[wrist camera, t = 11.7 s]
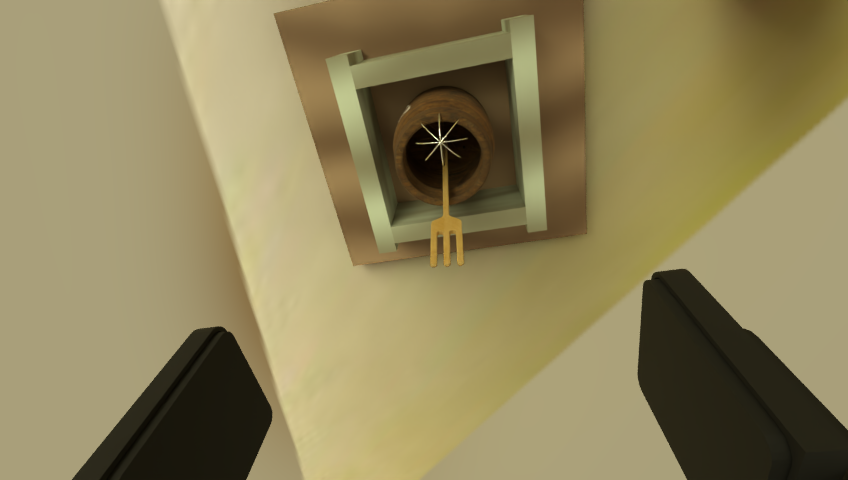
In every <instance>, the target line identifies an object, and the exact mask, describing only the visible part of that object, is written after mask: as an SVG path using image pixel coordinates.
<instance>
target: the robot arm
mask: <svg viewBox="0 0 848 480" xmlns="http://www.w3.org/2000/svg"><path fill="white" fill-rule="evenodd" d="M640 328H641V329H640V343H639V344H640V345H639V359H638V361H639V362H638V380H639V385H640V387H641V390H642V392H643V394H644V396H645V398H646V400H647V402H648V404H649V406H650V408H651V410H652V412H653V413H654V416H655V418H656V420H657V422H658V424H659V425H660V427H661V429H662V431H663V433H664V435H665V437H666V439H667V441H668V443H669V445H670V447H671V449H672V451H673V452H674V454H675V457H676V459H677V461H678V463H679V464H680V466H681V468H682V470H683V472H684V474H685V476H686V478H687V480H848V430H847V429H846V428H845V427H844V426H843V425H842V424H841V423H840V422H839V421H838V420H837V419H836V418H835V416H834V415H833V414H832V413H831V412H830V411H829V410H828V409H827V408H826V407H825V406H824V405H823V404H822V403H821V402H820V401H819V400H818V399H817V398H816V397H815V396H814V395H813V394H812V393H811V392H810V390H809V389H808V388H807V387H806V386H805V385H804V384H803V383H802V382H801V381H800V380H799V379H798V378H797V377H796V376H795V375H794V374H793V373H792V372H791V371H790V370H789V369H788V368H787V367H786V366H785V364H784V363H783V362H782V361H781V360H780V359H779V358H778V357H777V356H776V355H775V354H774V353H773V352H772V351H771V350H770V349H769V348H768V347H767V346H766V345H765V344H764V343H763V342H762V341H761V340H760V339H759V337H757V336H756V335H755V334H754V333H752V332H751V331H749V330H746V329H743V328H742V327H741V326H740V325H739V324H738V323H737V322H736V321H735V320H734V319H733V318H732V317H731V315H730V314H729V313H728V312H727V311H726V310H725V309H724V308H723V307H722V306H721V305H720V304H719V303H718V302H717V301H716V299H715V298H714V297H713V296H712V295H711V294H710V293H709V292H708V291H707V290H706V289H705V288H704V287H703V286H702V285H701V283H700V282H699V281H698V280H697V279H696V278H695V277H694V276H693V275H692V274H691V273H690V272H689V271H688V270H686V269H677V270H669V271H661V272H655V273H653V275H652V278H651V280H646V281H645V282H644V284H643V296H642V311H641V327H640ZM271 421H272V409H271V406H270V404H269V403H268V401H267V399H266V397H265V395H264V393H263V391H262V389H261V387H260V385H259V383H258V381H257V379H256V378H255V376H254V374H253V372H252V370H251V368H250V366H249V364H248V362H247V360H246V359H245V357H244V355H243V353H242V351H241V349H240V347H239V345H238V343H237V341H236V339H235V337H234V336H233V334H232V333H230V332H227V331H226V329H225V328H223V327H210V328H202V329H197V330H195V331H193V332H192V334H190V336H189V337H188V338H187V339H186V340H185V342H184V343H183V344H182V345H181V347H180V348H179V349H178V350H177V352H176V353H175V354H174V355H173V356H172V358H171V359H170V360H169V361H168V363H167V364H166V365H165V366H164V368H163V369H162V370H161V371H160V372H159V374H158V375H157V376H156V377H155V378H154V380H153V381H152V382H151V383H150V385H149V386H148V387H147V388H146V389H145V391H144V392H143V393H142V395H141V396H140V397H139V398H138V399H137V401H136V402H135V403H134V404H133V405H132V407H131V408H130V409H129V410H128V412H127V413H126V414H125V415H124V417H123V418H122V419H121V420H120V421H119V423H118V424H117V425H116V426H115V427H114V429H113V430H112V431H111V432H110V434H109V435H108V436H107V437H106V439H105V440H104V441H103V442H102V444H101V445H100V446H99V447H98V448H97V449H96V451H95V452H94V453H93V454H92V456H91V457H90V458H89V459H88V461H87V462H86V463H85V464H84V465H83V467H82V468H81V469H80V470H79V472H78V473H77V474H76V475H75V477H74V478H73V479H72V480H246V479H247V477H248V474H249V472H250V470H251V467H252V465H253V463H254V461H255V458H256V456H257V454H258V452H259V449H260V447H261V445H262V443H263V440H264V438H265V436H266V433H267V431H268V429H269V427H270V424H271Z"/></svg>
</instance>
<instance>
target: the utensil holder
mask: <svg viewBox="0 0 848 480" xmlns="http://www.w3.org/2000/svg"><path fill="white" fill-rule="evenodd" d="M494 149H495V140H494V133H493V129H492V126H491V123H490V120H489V118H488V115H487V113H486V111H485V109H484V108H483V106H482V105H481V103H480V102H479V101H478V100H477V99H476V98H475V97H474V96H473V95H471V94H470V93H468V92H467V91H465V90H463V89H460V88H457V87H452V86H438V87H433V88H430V89H428V90H425V91H423V92H422V93H420V94H419V95H417V96H416V97H415V98H414V99H413V100H412V101H411V102H410V103H409V104H408V106H407V107H406V109H405V110H404V112H403V114H402V116H401V118H400V120H399V122H398V124H397V127H396V130H395V134H394V140H393V152H394V160H395V167H396V171H397V174H398V177H399V179H400V181H401V183H402V184H403V186H404V187H405V188H406V190H407V191H408V192H409V193H410V194H412V195H413V196H414V197H415V198H417V199H419V200H421V201H423V202H425V203H428V204H431V205H437V206H443V216H442V217H440V218H438V219H436V220H434V221H432V223H431V250H430V266H431V267H436V266H437V236H438V235H443V247H444V266H446V267H448V266H450V265H451V261H450V235H451V234H456V245H457V264H458V265H459V266H462V265H463V264H464V252H463V235H462V221H461V220H460V219H458V218H455V217H451V216H450V215H449V205H455V204H458V203H461V202H463V201H465V200H467V199H469V198H470V197H472V196H473V195H474V194H475V193H477V192H478V191H479V189H480V188H481V187H482V186H483V184H484V183H485V181H486V179H487V177H488V174H489V172H490V168H491V164H492V160H493V156H494Z"/></svg>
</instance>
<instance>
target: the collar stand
mask: <svg viewBox="0 0 848 480" xmlns="http://www.w3.org/2000/svg"><path fill="white" fill-rule="evenodd" d="M274 16H275V19H276V23H277V26H278V29H279V32H280V35H281V38H282V42H283V45H284V48H285V51H286V54H287V57H288V61H289V64H290V67H291V70H292V73H293V76H294V80H295V83H296V86H297V89H298V92H299V95H300V99H301V102H302V105H303V108H304V111H305V114H306V118H307V121H308V124H309V127H310V130H311V133H312V137H313V140H314V143H315V146H316V149H317V152H318V156H319V159H320V162H321V165H322V168H323V171H324V175H325V178H326V181H327V184H328V187H329V190H330V194H331V197H332V200H333V203H334V206H335V209H336V213H337V216H338V219H339V222H340V225H341V228H342V232H343V235H344V238H345V241H346V244H347V247H348V251H349V254H350V257H351V260H352V263H353V266H356V265H363V264H370V263H377V262H385V261H392V260H399V259H406V258H414V257H421V256H428V255H430V250H431V223H432V221H434V220H436V219H438V218H440V217H442V216H443V206H437V205H431V204H428V203H425V202H423V201H421V200H419V199H417V198H415V197H414V196H413V195H412V194H410V193H409V192H408V191H407V190H406V188H405V187H404V186H403V184H402V183H401V181H400V179H399V177H398V174H397V171H396V167H395V160H394V152H393V140H394V134H395V130H396V127H397V124H398V122H399V120H400V118H401V116H402V114H403V112H404V110H405V109H406V107H407V106H408V104H409V103H410V102H411V101H412V100H413V99H414V98H415V97H416V96H417V95H419V94H420V93H422V92H423V91H425V90H428V89H430V88H433V87H438V86H452V87H457V88H460V89H463V90H465V91H467V92H468V93H470V94H471V95H473V96H474V97H475V98H476V99H477V100H478V101H479V102H480V103H481V105H482V106H483V108H484V109H485V111H486V113H487V115H488V118H489V120H490V123H491V126H492V129H493V133H494V140H495V149H494V156H493V160H492V164H491V168H490V172H489V174H488V177H487V179H486V181H485V183H484V184H483V186H482V187H481V188H480V189H479V191H478V192H477V193H475V194H474V195H473V196H472V197H470V198H469V199H467V200H465V201H463V202H461V203H458V204H455V205H449V215H450V216H451V217H455V218H458V219H460V220H461V221H462V235H463V251H464V250H471V249H479V248H486V247H493V246H500V245H507V244H515V243H522V242H529V241H536V240H544V239H551V238H558V237H565V236H572V235H580V234H587V226H586V153H585V80H584V7H583V0H330V1H326V2H322V3H317V4H313V5H309V6H304V7H300V8H296V9H291V10H287V11H283V12H279V13H274ZM450 252H457V245H456V234H451V235H450ZM442 253H444V247H443V235H438V236H437V254H442Z"/></svg>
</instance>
